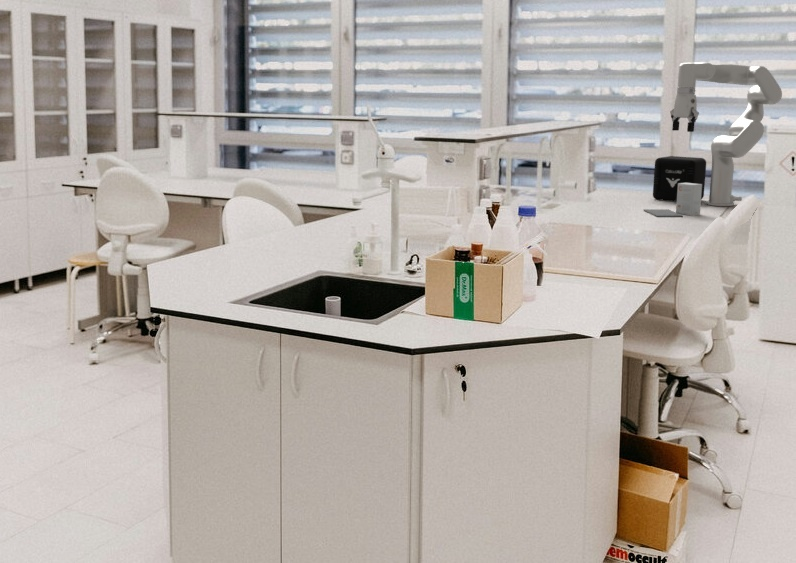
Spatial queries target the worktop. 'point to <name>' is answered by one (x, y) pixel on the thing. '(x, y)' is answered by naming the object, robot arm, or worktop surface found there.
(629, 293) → the worktop surface
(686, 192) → the small box
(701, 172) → the air purifier
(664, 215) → the rubber mat
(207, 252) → the worktop surface
